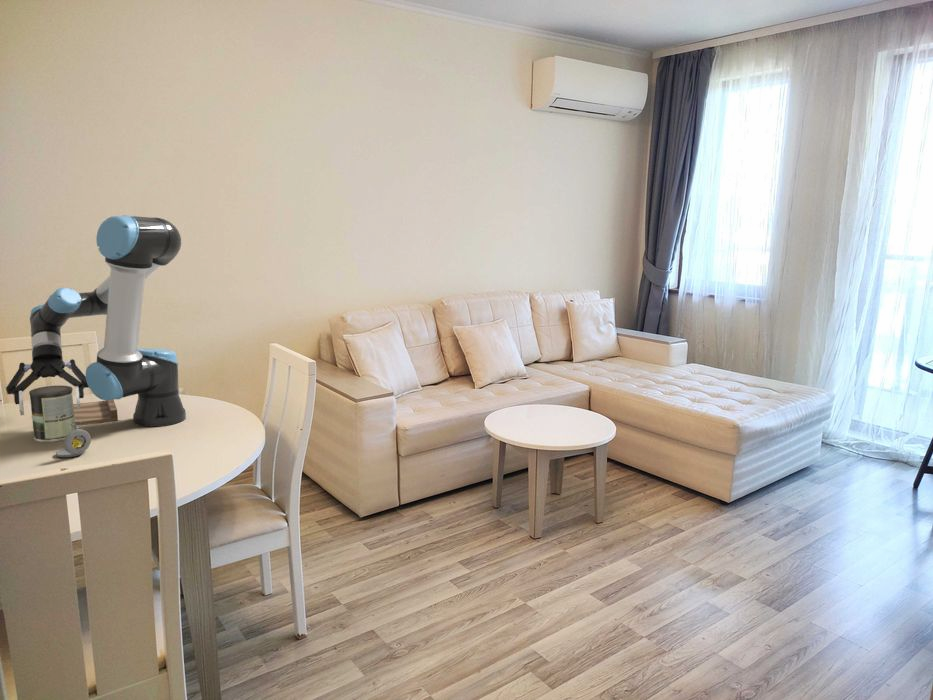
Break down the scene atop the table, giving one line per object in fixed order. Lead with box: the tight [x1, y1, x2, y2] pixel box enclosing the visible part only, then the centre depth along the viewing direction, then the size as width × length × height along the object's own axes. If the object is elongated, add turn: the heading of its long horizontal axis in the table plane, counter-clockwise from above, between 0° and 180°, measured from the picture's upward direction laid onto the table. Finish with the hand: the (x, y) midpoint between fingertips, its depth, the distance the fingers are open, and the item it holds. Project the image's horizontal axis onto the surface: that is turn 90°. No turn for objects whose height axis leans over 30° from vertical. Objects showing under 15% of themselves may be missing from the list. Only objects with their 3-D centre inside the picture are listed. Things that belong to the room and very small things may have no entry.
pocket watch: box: [55, 421, 92, 458], centre depth 161 cm, size 8×8×10 cm
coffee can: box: [28, 385, 75, 443], centre depth 174 cm, size 10×10×14 cm
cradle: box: [73, 399, 119, 426], centre depth 197 cm, size 24×17×4 cm
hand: (50, 409), depth 174 cm, fingers open, 13 cm apart
